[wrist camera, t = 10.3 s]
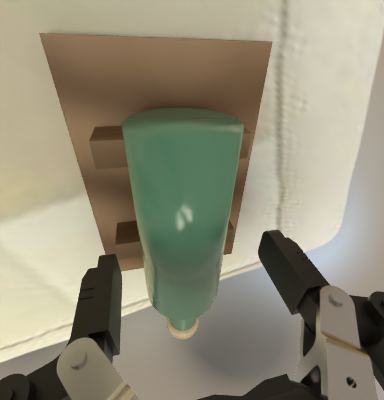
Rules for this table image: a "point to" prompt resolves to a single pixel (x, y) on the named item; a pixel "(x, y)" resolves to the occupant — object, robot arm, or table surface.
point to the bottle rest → (142, 101)
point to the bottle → (182, 205)
